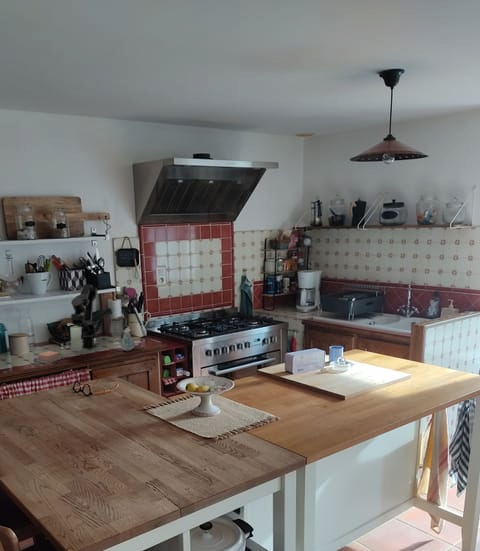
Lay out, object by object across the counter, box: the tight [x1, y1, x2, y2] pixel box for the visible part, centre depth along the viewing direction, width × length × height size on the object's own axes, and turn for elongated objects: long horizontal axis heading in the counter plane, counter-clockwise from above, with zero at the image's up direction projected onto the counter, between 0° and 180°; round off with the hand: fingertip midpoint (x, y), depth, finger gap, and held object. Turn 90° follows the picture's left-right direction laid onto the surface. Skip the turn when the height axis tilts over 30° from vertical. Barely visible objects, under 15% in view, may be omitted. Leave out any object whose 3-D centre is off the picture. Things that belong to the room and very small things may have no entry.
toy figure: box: [112, 327, 142, 352], centre depth 301 cm, size 17×10×15 cm, turn 105°
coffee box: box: [111, 316, 129, 344], centre depth 320 cm, size 9×6×16 cm
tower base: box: [32, 350, 65, 365], centre depth 283 cm, size 12×12×4 cm
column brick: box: [70, 325, 83, 352], centre depth 280 cm, size 6×6×14 cm
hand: (75, 338), depth 279 cm, fingers closed on column brick, 6 cm apart
